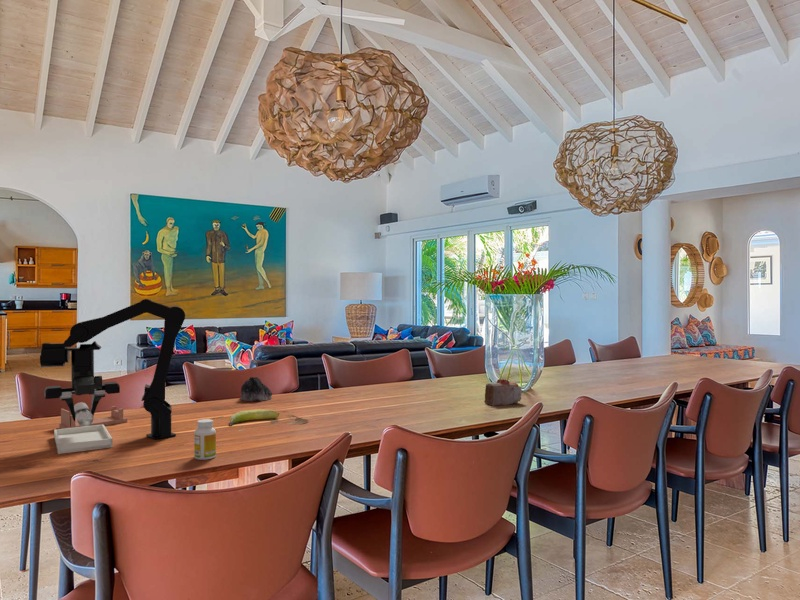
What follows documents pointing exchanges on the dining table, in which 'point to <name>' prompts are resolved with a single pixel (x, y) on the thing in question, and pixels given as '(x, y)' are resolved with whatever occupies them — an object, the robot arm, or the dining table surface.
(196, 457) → the supplement bottle
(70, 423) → the hitch bracket
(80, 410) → the pin
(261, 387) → the dark grey rough lump
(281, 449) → the dining table surface
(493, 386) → the food item
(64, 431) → the tray
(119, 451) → the dining table surface
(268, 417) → the unripe green banana
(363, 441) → the dining table surface
